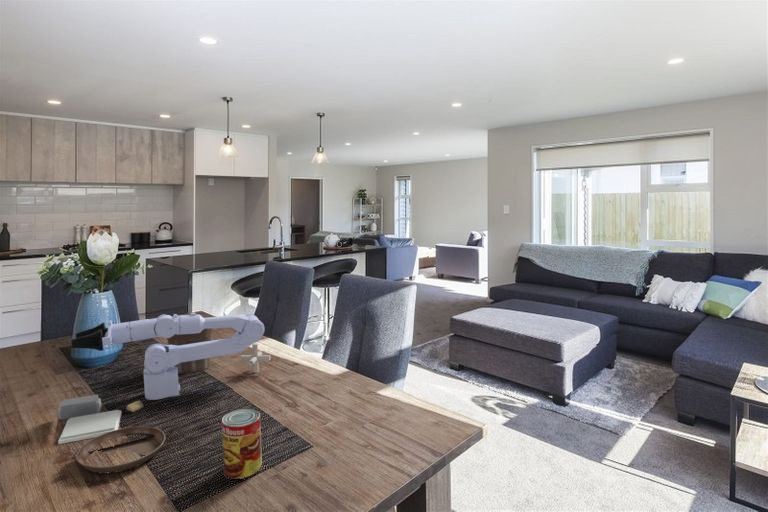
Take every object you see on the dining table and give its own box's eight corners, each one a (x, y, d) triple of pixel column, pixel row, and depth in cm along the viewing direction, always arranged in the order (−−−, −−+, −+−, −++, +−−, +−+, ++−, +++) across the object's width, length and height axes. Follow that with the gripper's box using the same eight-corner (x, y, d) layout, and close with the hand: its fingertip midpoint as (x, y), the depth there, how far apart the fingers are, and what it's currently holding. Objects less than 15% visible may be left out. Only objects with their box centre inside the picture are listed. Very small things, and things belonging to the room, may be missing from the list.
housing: (101, 411, 126) (100, 394, 126) (99, 417, 122) (98, 400, 122) (62, 417, 122) (60, 400, 122) (58, 425, 118) (57, 407, 118)
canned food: (216, 471, 97) (214, 418, 96) (247, 455, 103) (245, 405, 102) (238, 485, 92) (235, 429, 91) (269, 467, 98) (267, 415, 97)
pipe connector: (266, 377, 150) (265, 348, 149) (236, 377, 150) (235, 348, 149) (274, 367, 160) (273, 339, 159) (246, 366, 160) (245, 339, 159)
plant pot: (204, 377, 151) (201, 330, 149) (156, 377, 151) (153, 330, 149) (222, 360, 167) (220, 318, 165) (179, 360, 167) (177, 318, 165)
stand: (121, 417, 122) (121, 408, 122) (117, 437, 111) (116, 427, 111) (68, 426, 117) (67, 417, 116) (58, 449, 106) (57, 439, 106)
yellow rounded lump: (135, 407, 127) (125, 412, 124) (137, 398, 126) (126, 402, 123) (142, 412, 126) (132, 417, 123) (144, 403, 125) (134, 407, 122)
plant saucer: (178, 436, 112) (177, 424, 112) (143, 479, 95) (142, 465, 94) (106, 437, 112) (105, 426, 111) (57, 481, 94) (56, 467, 94)
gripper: (130, 313, 135) (76, 321, 129) (127, 323, 122) (67, 332, 116) (133, 335, 136) (79, 344, 130) (130, 348, 123) (71, 358, 117)
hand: (74, 340), depth 123 cm, fingers open, 7 cm apart
